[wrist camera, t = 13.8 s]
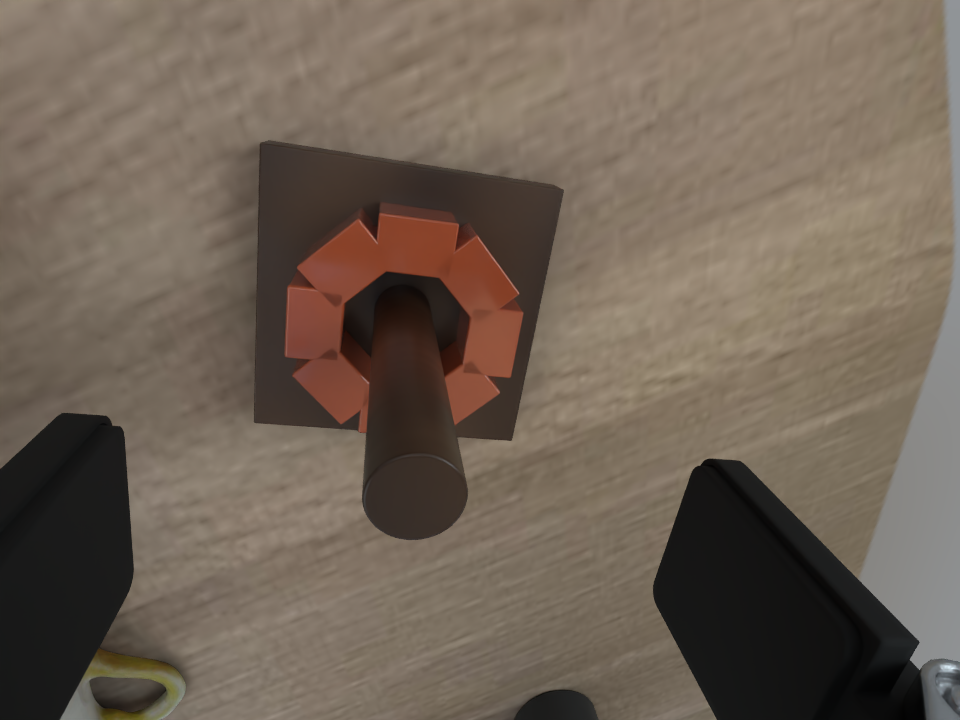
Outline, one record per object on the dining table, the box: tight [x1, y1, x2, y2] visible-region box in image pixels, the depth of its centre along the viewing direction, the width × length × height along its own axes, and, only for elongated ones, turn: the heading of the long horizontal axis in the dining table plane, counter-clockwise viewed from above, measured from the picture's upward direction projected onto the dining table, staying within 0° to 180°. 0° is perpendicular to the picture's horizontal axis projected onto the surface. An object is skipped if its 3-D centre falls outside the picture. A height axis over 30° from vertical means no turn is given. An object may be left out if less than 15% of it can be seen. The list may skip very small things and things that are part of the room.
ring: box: [284, 202, 524, 433], centre depth 18 cm, size 7×7×2 cm
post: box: [254, 140, 564, 540], centre depth 15 cm, size 9×9×11 cm
